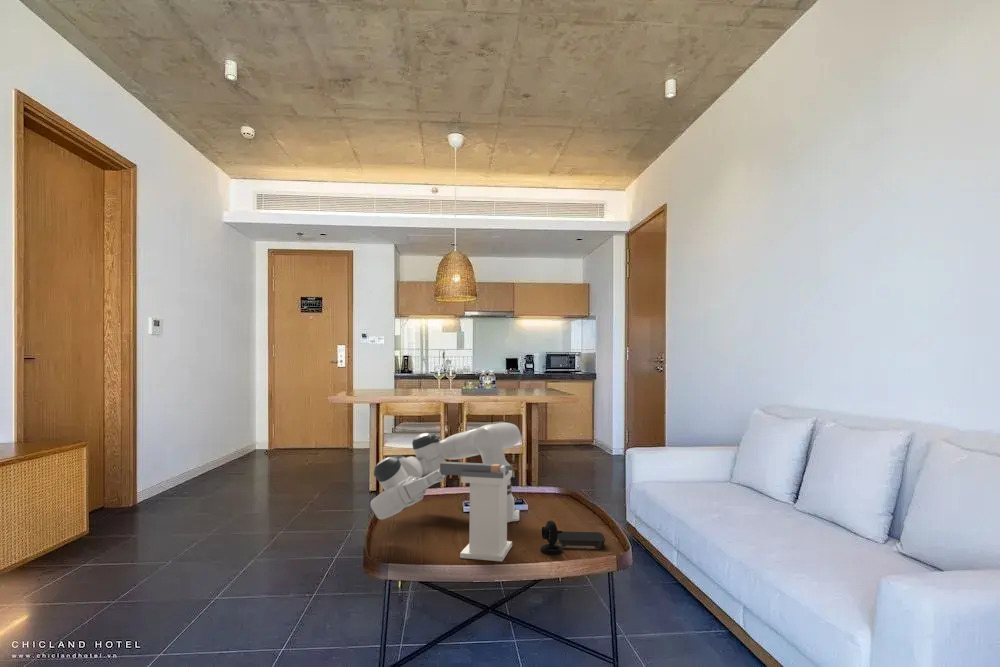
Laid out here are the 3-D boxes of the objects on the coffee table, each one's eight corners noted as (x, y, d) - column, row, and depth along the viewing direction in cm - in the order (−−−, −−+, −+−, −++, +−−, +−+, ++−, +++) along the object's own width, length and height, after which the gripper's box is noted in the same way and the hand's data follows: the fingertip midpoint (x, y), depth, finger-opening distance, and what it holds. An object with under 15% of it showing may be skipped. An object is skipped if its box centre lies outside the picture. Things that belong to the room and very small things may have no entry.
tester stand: (473, 542, 185) (474, 459, 187) (512, 545, 182) (512, 460, 184) (460, 557, 170) (461, 466, 172) (502, 561, 167) (502, 468, 169)
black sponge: (602, 542, 187) (602, 532, 187) (605, 550, 179) (605, 539, 179) (556, 541, 189) (556, 530, 189) (557, 549, 180) (557, 538, 180)
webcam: (537, 548, 180) (537, 518, 181) (558, 546, 182) (557, 517, 183) (544, 555, 172) (544, 524, 173) (566, 554, 174) (565, 523, 175)
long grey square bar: (443, 472, 179) (443, 461, 179) (500, 475, 175) (500, 464, 175) (439, 474, 176) (440, 463, 176) (497, 477, 171) (497, 466, 171)
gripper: (427, 491, 188) (459, 473, 186) (404, 505, 169) (440, 485, 166) (419, 475, 190) (451, 457, 187) (396, 487, 170) (431, 467, 167)
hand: (446, 470), depth 177 cm, fingers open, 8 cm apart
